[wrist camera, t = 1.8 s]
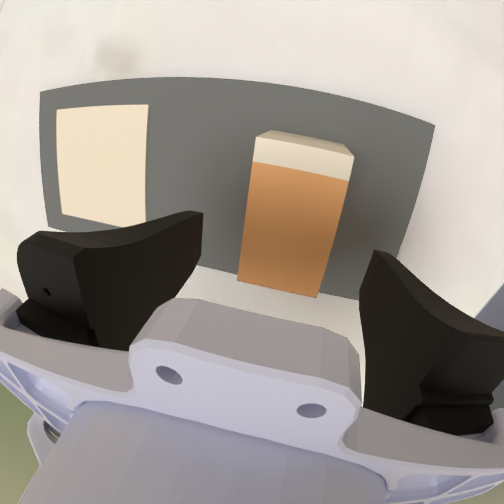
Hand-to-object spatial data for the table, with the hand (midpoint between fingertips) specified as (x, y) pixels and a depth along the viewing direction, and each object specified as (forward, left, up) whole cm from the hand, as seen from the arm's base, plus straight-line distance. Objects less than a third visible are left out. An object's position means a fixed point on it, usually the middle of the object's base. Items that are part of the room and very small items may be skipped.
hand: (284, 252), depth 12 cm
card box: (0, 0, -8) cm, 8 cm away
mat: (0, +8, -9) cm, 12 cm away
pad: (0, +16, -9) cm, 18 cm away
